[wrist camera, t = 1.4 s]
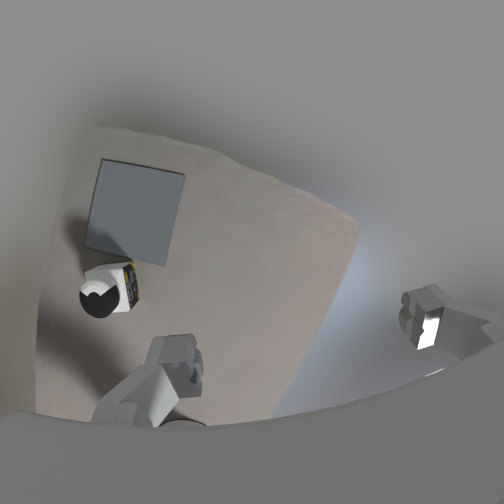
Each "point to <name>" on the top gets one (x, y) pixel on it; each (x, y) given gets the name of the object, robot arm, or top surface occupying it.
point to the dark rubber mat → (134, 211)
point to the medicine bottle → (109, 289)
